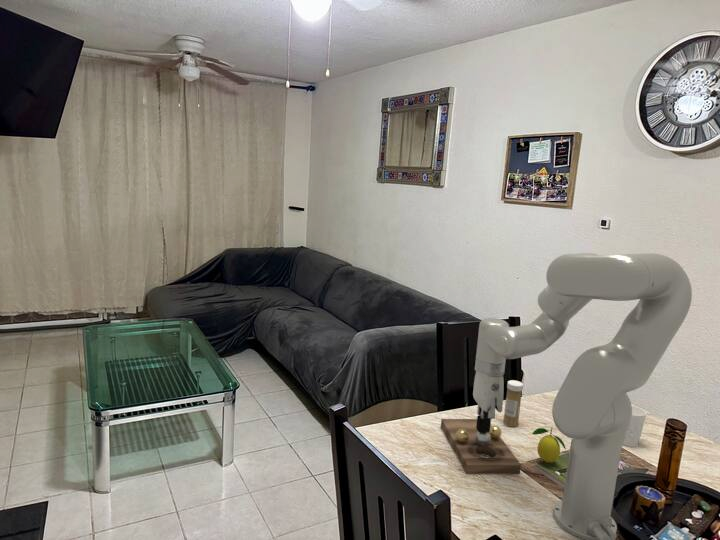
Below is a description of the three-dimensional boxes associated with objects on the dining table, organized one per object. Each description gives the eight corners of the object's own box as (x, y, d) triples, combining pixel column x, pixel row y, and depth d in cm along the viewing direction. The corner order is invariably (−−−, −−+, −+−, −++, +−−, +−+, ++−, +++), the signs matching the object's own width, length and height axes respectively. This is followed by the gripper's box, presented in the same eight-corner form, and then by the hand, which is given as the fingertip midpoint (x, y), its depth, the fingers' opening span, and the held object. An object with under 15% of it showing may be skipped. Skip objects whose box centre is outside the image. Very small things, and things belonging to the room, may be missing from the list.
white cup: (610, 443, 141) (615, 410, 139) (610, 431, 148) (615, 401, 146) (641, 451, 137) (646, 418, 135) (640, 439, 144) (645, 407, 142)
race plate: (520, 473, 122) (521, 464, 122) (466, 474, 121) (467, 464, 120) (486, 426, 146) (486, 419, 145) (440, 426, 144) (441, 418, 144)
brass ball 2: (502, 441, 133) (504, 429, 132) (490, 441, 133) (491, 429, 132) (497, 434, 136) (499, 423, 136) (485, 434, 136) (487, 423, 135)
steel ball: (492, 430, 129) (485, 429, 133) (478, 431, 128) (472, 429, 132) (494, 446, 128) (487, 444, 132) (480, 447, 127) (473, 445, 131)
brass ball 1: (469, 445, 130) (471, 433, 129) (457, 445, 129) (458, 433, 129) (465, 438, 133) (466, 426, 133) (453, 438, 133) (454, 426, 132)
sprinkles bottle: (521, 425, 148) (526, 384, 146) (511, 428, 146) (516, 386, 143) (509, 419, 152) (514, 378, 150) (499, 422, 149) (504, 381, 147)
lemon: (528, 457, 130) (533, 422, 129) (546, 454, 132) (550, 420, 131) (546, 471, 124) (551, 435, 123) (564, 467, 126) (569, 432, 125)
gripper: (515, 377, 120) (507, 445, 123) (493, 356, 134) (486, 417, 138) (486, 376, 119) (478, 445, 122) (466, 355, 134) (460, 417, 137)
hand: (482, 430), depth 130 cm, fingers closed
